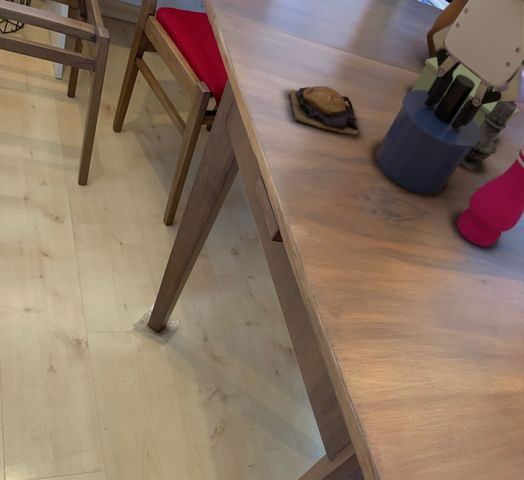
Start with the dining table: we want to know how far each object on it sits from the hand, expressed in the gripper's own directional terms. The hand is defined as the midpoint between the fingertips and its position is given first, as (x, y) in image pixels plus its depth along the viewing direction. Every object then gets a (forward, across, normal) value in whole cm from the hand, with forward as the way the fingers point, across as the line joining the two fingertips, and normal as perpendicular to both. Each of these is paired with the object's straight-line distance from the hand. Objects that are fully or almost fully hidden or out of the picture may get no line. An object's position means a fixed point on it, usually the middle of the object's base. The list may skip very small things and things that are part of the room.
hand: (444, 113), depth 78 cm
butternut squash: (+10, +16, -35) cm, 40 cm away
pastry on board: (+10, +15, +5) cm, 19 cm away
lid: (+1, 0, 0) cm, 1 cm away
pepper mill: (+10, -14, +1) cm, 17 cm away
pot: (+10, 0, 0) cm, 10 cm away
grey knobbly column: (+10, -3, -14) cm, 17 cm away
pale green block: (+10, +6, -22) cm, 25 cm away
